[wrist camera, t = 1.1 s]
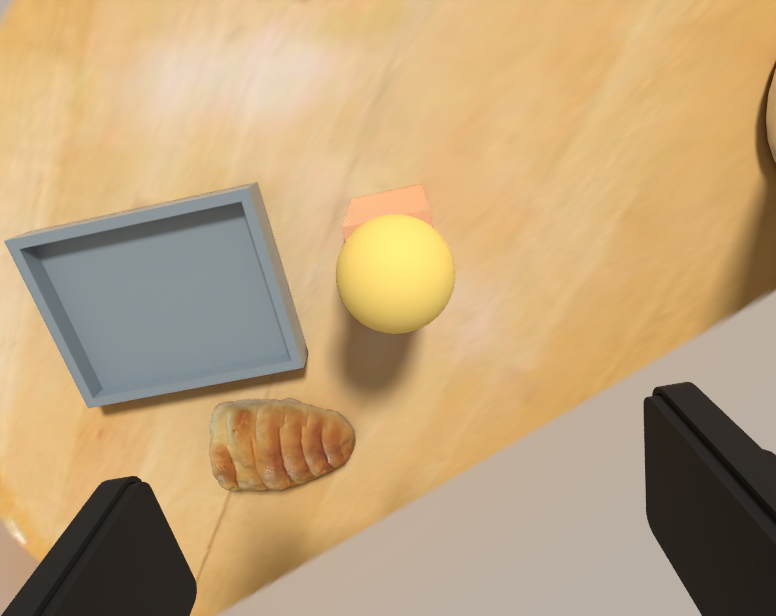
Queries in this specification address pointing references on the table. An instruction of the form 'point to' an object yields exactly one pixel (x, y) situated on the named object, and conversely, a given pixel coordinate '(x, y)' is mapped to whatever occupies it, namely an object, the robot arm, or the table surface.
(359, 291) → the ball
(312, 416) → the pastry
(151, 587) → the robot arm
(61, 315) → the tray
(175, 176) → the table surface
